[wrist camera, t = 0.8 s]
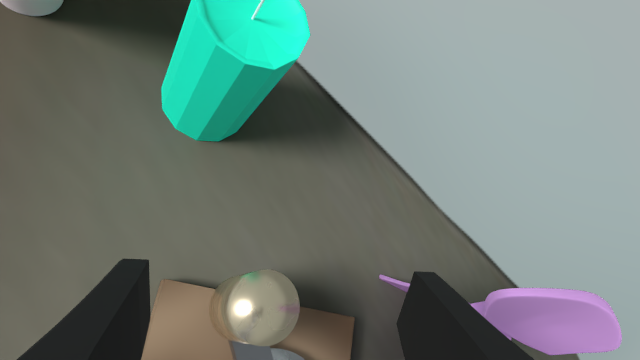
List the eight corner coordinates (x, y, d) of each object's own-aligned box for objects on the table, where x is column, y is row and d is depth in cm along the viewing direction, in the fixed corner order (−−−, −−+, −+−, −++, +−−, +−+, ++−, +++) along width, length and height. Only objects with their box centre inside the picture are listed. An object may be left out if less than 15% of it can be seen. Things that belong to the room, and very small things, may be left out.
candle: (251, 82, 32) (328, -26, 22) (238, 152, 29) (317, 69, 19) (171, 52, 29) (216, -85, 19) (150, 127, 27) (189, 16, 17)
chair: (337, 389, 28) (539, 449, 16) (369, 268, 32) (550, 240, 20) (427, 422, 31) (660, 496, 18) (446, 307, 35) (649, 304, 22)
